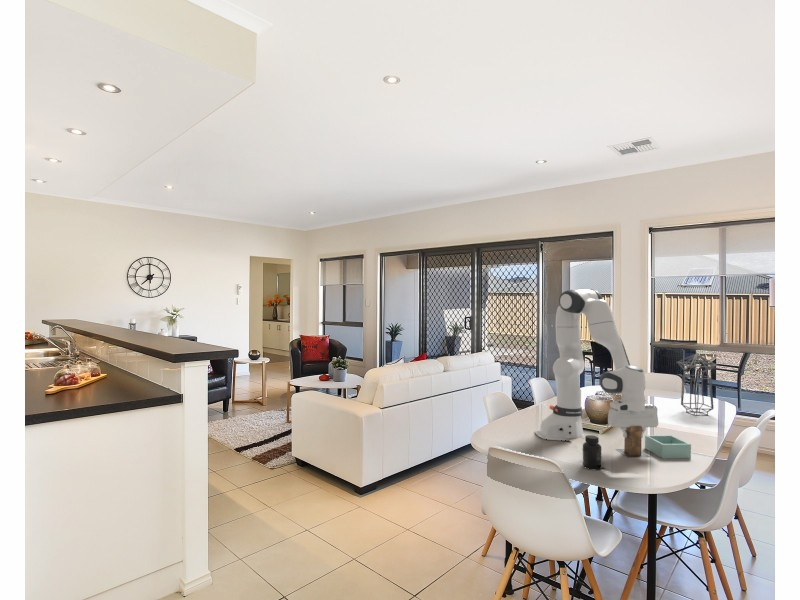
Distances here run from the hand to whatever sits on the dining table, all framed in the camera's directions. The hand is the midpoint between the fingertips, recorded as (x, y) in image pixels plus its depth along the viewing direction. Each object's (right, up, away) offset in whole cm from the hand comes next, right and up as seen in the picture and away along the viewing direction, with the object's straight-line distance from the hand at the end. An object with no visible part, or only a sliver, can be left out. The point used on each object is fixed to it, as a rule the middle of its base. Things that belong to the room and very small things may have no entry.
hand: (632, 437), depth 187 cm
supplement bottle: (-22, -8, -12) cm, 27 cm away
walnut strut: (0, -7, 0) cm, 7 cm away
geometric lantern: (+74, -9, +71) cm, 102 cm away
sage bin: (+15, -8, +1) cm, 17 cm away
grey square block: (0, -8, 0) cm, 8 cm away
